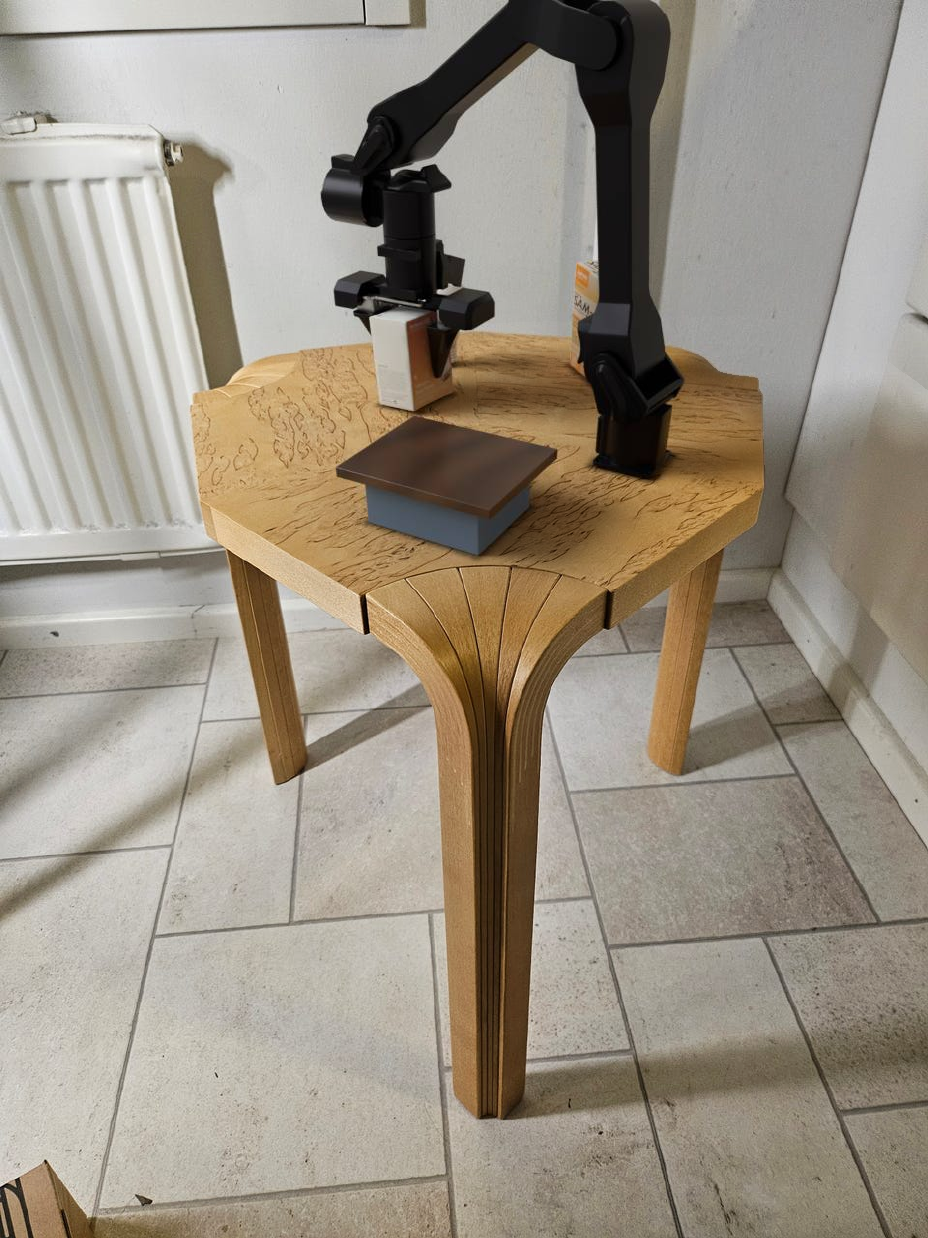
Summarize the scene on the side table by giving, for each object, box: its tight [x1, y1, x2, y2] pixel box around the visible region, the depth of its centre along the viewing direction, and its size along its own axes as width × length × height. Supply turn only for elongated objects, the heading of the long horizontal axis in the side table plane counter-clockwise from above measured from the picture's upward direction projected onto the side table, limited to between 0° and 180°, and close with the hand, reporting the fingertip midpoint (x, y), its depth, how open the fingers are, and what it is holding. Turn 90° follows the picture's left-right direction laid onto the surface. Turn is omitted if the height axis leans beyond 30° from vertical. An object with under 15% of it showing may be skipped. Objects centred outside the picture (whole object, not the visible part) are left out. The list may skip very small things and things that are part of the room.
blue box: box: [364, 483, 531, 556], centre depth 80 cm, size 12×10×5 cm
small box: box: [369, 305, 454, 412], centre depth 101 cm, size 8×6×10 cm
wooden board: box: [335, 415, 559, 520], centre depth 79 cm, size 16×13×1 cm
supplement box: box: [569, 259, 599, 378], centre depth 106 cm, size 8×5×13 cm, turn 17°
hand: (415, 372), depth 103 cm, fingers closed on small box, 6 cm apart
